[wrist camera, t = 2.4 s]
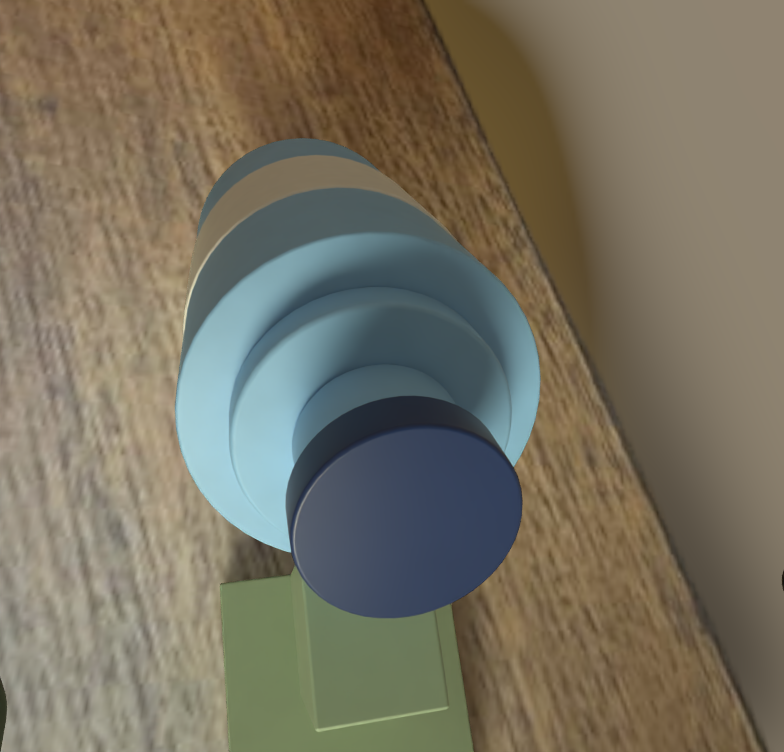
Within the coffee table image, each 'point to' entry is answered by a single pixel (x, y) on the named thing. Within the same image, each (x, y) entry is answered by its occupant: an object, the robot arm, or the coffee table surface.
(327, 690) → the green stepped block
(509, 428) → the bottle
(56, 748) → the coffee table surface
